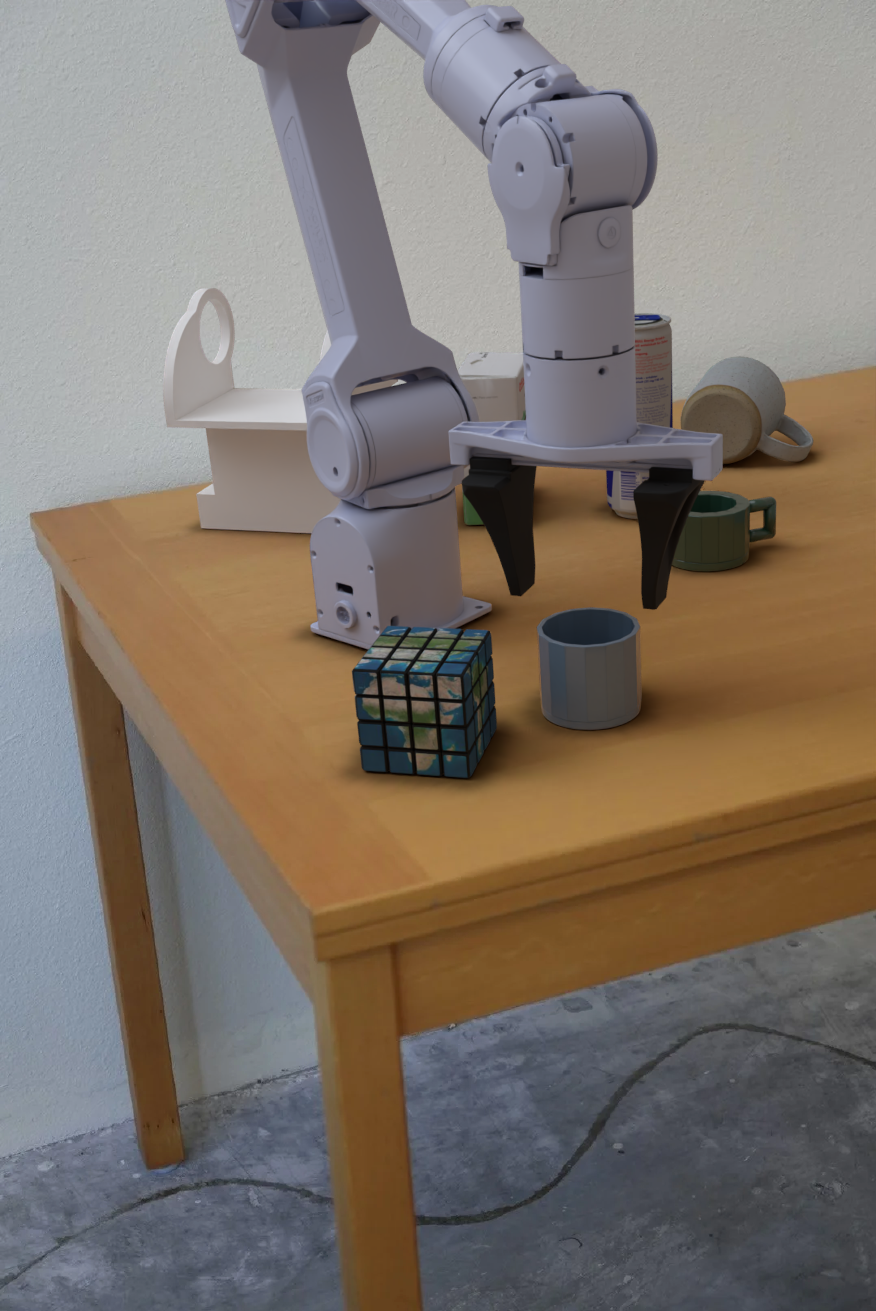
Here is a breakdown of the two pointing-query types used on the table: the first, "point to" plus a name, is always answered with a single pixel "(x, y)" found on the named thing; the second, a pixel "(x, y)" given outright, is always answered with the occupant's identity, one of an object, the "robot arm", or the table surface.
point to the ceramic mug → (744, 411)
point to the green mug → (722, 531)
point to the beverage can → (646, 400)
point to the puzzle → (425, 701)
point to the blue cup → (589, 668)
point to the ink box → (493, 396)
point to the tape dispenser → (244, 433)
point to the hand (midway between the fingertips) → (587, 596)
